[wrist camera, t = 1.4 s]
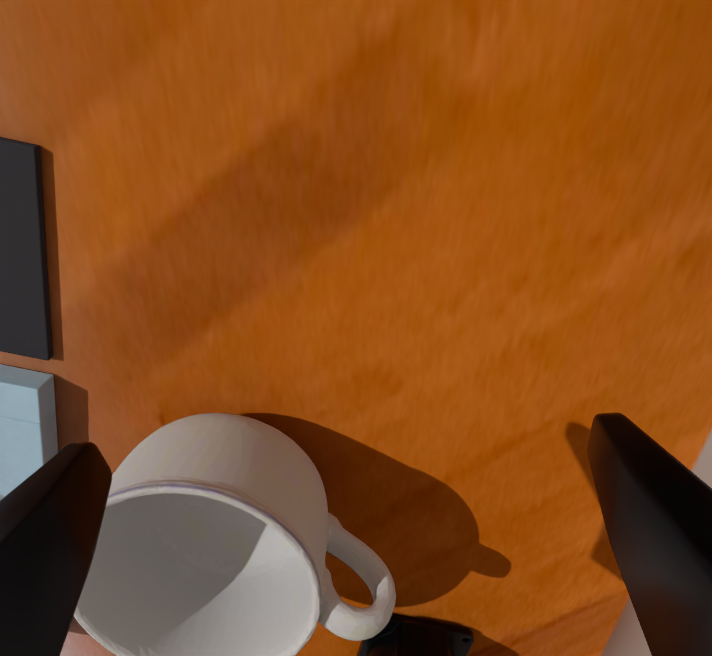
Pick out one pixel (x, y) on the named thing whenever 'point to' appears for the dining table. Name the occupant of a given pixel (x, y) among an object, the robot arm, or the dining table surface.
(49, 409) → the light blue flat square
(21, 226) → the mat
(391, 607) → the teacup
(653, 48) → the dining table surface
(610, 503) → the robot arm
